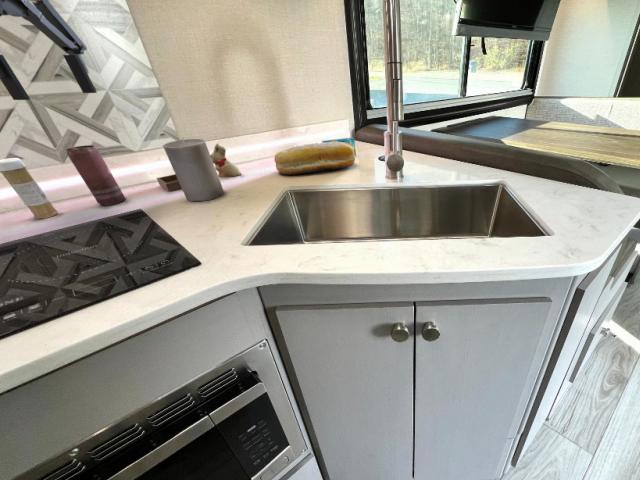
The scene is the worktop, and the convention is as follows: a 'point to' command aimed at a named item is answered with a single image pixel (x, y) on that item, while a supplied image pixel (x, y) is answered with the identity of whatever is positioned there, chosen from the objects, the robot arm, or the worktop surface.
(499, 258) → the worktop surface
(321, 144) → the bread
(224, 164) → the dog figurine
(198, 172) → the pillar candle
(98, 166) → the can
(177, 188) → the tray
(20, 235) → the worktop surface
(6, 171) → the sprinkles bottle
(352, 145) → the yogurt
